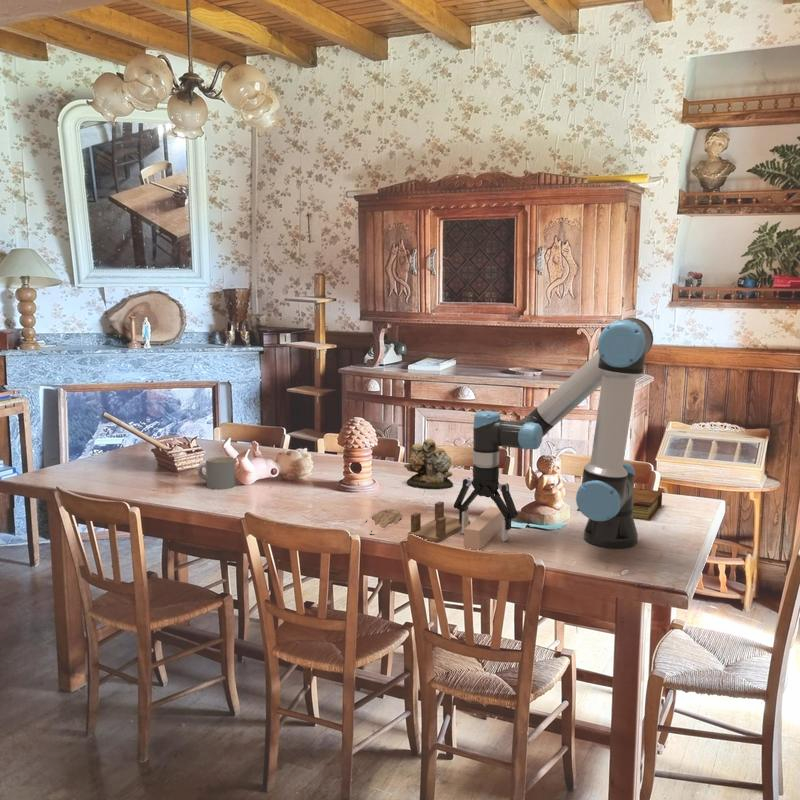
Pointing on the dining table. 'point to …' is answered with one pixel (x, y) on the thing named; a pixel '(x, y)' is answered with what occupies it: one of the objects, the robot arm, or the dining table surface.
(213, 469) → the coffee mug
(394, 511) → the fish fossil
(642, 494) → the diary
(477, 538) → the clay strip
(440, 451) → the owl figurine
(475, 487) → the robot arm
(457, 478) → the dining table surface
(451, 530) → the rack
